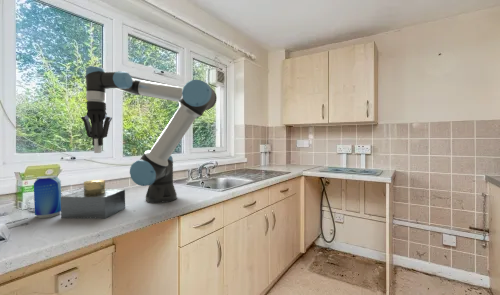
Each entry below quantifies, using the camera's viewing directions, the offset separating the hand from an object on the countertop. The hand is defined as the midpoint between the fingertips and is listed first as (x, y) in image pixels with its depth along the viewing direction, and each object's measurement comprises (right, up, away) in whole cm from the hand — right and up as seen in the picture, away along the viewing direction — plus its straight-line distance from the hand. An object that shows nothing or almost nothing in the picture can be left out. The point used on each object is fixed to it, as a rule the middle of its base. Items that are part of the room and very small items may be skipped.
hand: (97, 152), depth 110 cm
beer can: (-12, -26, -13) cm, 31 cm away
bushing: (+5, -25, -9) cm, 27 cm away
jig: (+5, -25, -9) cm, 27 cm away
